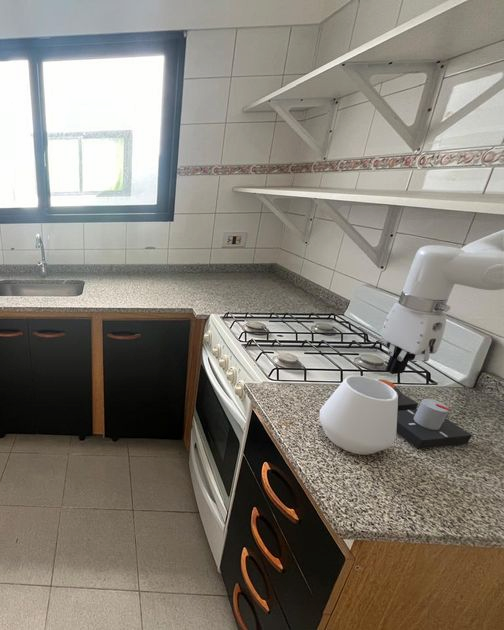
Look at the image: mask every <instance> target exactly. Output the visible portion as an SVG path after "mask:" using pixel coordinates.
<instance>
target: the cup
mask: <svg viewBox="0 0 504 630" xmlns="http://www.w3.org/2000/svg"><path fill="white" fill-rule="evenodd" d="M378 380H379V379H376V378H373V377H369V376H364V375H355V374H354V375H349V376H346V378H344V379H343V380H342V382H341V383H340V384H339V385H338V387H337V388H336V389H335V390H334V392H333V393H332V394H331V395H330V396H329V397H328V399H327V400H326V401H325V402H324V404H323V405H322V406H321V407H320V409H319V422H320V424H321V427H322V430H323V432H324V433H325V435H326V437H327V438H328V440H329V441H331V443H333V444H334V445H335V446H336V447H338V448H340V449H342V450H344V451H346V452H349V453H351V454H355V455H362V456H368V455H372V454H375V453H378V452H382V451H384V450H387V449H389V448H390V447H391V446H392V445H393V444H394V443H395V441H396V440H397V433H396V430H397V409H398V395H397V392H396V391H395V390H394V389H393V388H392V387H390V386H388V385H387V384H385V383H383V382H381V381H378Z"/></svg>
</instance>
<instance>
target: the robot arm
mask: <svg viewBox="0 0 504 630" xmlns="http://www.w3.org/2000/svg"><path fill="white" fill-rule="evenodd" d="M455 285H459V286H464V287H468V288H474V289H478V290H483V291H484V290H485V291H499V290H504V229H502V230H499V231H497V232H493V233H492V234H489V235H487V236H484V237H482V238H479V239H477V240H474V241H472V242H470V243H467V244H466V245H463V246H462V247H461V248H459V247H455V246H449V245H439V244H438V245H437V244H430V245H424V246H421V247H420V248H419V249H418V250H417V251H416V253H415V255H414V258H413V261H412V263H411V265H410V269H409V271H408V274H407V277H406V280H405V283H404V285H403V288H402V290H401V294H400V296H399V299H398V300H397V301H395V303H394V304H393V306H392V307H391V308H390V310H389V312H388V314H387V315H386V318H385V320H384V321H383V322H384V323H383V325H382V327H381V331H380V341H381V342H382V343H383V344H384V345H386V347H387V350H388V352H387V353H388V356H389V359H388V361H387V364H386V367H385V371H386V372H388V373H390V374H391V375H397V374H398V375H399V374H403V373H404V372H405V370H406V368H407V367H408V366H407V365H408V363H409V361H413V360H415V361H418V362H428V361H429V360H430V354H431V355H432V354H436V353H437V352H438V350H439V348H440V345H441V343H442V339H443V337H444V333H445V329H446V324H447V312H449V311H450V310H451V306H450V305H448V304H447V303H448V301H449V298H450V296H451V293H452V291H453V289H454V286H455Z"/></svg>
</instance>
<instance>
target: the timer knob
mask: <svg viewBox="0 0 504 630" xmlns="http://www.w3.org/2000/svg"><path fill="white" fill-rule="evenodd" d="M417 409H418V410H417V412H416V414H415V416H414V418H413V419H414V421H415V422H416V423H418V424H419V425H421V426H423V427H425V428H428V429H432V430H438V429H440V427H441V425H442V423H443V421H444V419H445V418H446V417H447V416H448V414H449V412H450V410H451V408H450V407H449V406H448V405H447V404H445V403H443V402H441V401H438V400H436V399H432V398H423V399H422V400H421V402H420V404H419V406H418V407H417ZM446 419H447V418H446Z"/></svg>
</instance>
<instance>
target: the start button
mask: <svg viewBox="0 0 504 630" xmlns="http://www.w3.org/2000/svg"><path fill="white" fill-rule="evenodd" d="M377 380H378V381H381V382H383V383H385V384H387V385H388V386H390V387H392V388H393V389H395V387H396V384H394V383H393V382H391V381H389V380H387V379H386V380H385V379H377Z"/></svg>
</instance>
